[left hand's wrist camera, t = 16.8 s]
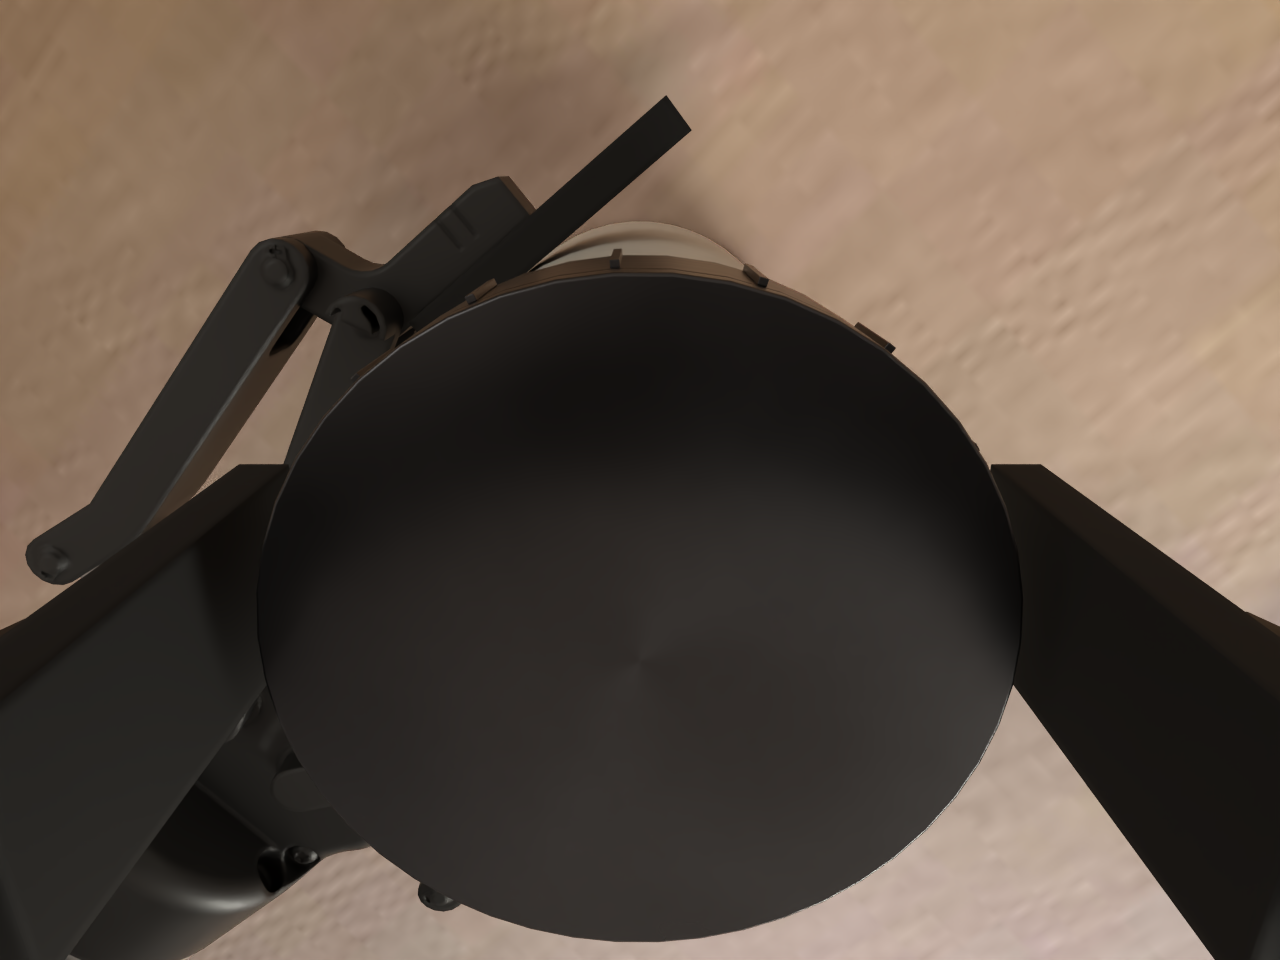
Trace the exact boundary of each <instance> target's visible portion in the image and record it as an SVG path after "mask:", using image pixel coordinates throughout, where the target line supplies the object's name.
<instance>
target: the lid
mask: <svg viewBox="0 0 1280 960" xmlns="http://www.w3.org/2000/svg"><path fill="white" fill-rule="evenodd" d="M465 299H466V301H464V302H463V303H461V304H459V305H458V306H456V307H454V308H453V309H451V310H449V311H448V312H446V313H444V314H443V315H441V316H439V317H438V318H437V319H435V320H434V321H432V322H431V323H430V324H428V325H427V326H425V327H424V328H422V329H421V330H420V331H418V332H417V333H415V334H414V335H413V336H411V337H410V338H408V339H407V340H405V341H404V342H403V343H401V344H400V345H399V346H397V347H396V348H395V349H394V350H392V349H390V350H388V351H387V352H385V353H384V354H383V355H381V356H380V357H378V358H377V359H375V360H374V361H373V362H371V363H370V364H368V365H367V366H365V367H364V368H363V369H361V370H360V371H358V372H357V373H356V374H355V375H354V376H353V377H352V378H351V380H352V381H353V382H354V383H353V385H352V386H351V387H350V388H349V389H348V390H347V391H346V392H345V393H344V394H343V395H342V397H341V398H340V399H339V400H338V401H337V402H336V403H335V404H334V405H333V406H332V407H331V409H330V410H329V411H328V412H327V413H326V414H325V415H324V416H323V418H322V419H321V421H320V422H319V424H318V425H317V427H316V428H315V430H314V431H313V433H312V434H311V436H310V437H309V439H308V440H307V442H306V443H305V445H304V446H303V447H302V449H301V450H300V452H299V453H298V455H297V456H296V458H295V460H294V462H293V464H292V467H291V469H290V471H289V473H288V475H287V477H286V479H285V481H284V484H283V486H282V488H281V490H280V492H279V494H278V496H277V499H276V501H275V504H274V507H273V511H272V514H271V518H270V521H269V524H268V528H267V531H266V535H265V538H264V542H263V545H262V551H261V559H260V567H259V575H258V582H257V590H256V599H257V637H258V643H259V649H260V654H261V660H262V666H263V671H264V677H265V681H266V684H267V687H268V690H269V693H270V696H271V699H272V702H273V706H274V709H275V712H276V715H277V718H278V721H279V723H280V725H281V727H282V729H283V731H284V733H285V735H286V737H287V739H288V741H289V743H290V745H291V747H292V749H293V751H294V753H295V755H296V757H297V759H298V760H299V762H300V763H301V765H302V766H303V768H304V769H305V771H306V772H307V774H308V775H309V777H310V778H311V780H312V781H313V783H314V784H315V786H316V787H317V789H318V790H319V792H320V793H321V795H322V796H323V797H324V798H325V799H326V800H327V802H328V803H329V804H330V805H331V806H332V807H333V808H334V810H335V811H336V812H337V813H338V814H339V815H340V816H341V818H342V819H343V820H344V821H345V822H346V823H347V825H348V826H349V827H351V828H352V829H353V830H354V831H355V832H356V833H357V834H358V835H359V836H360V837H362V838H363V839H364V840H365V841H366V842H367V843H368V844H369V845H370V846H372V847H373V848H374V849H375V850H376V851H377V852H378V853H379V854H381V855H382V856H383V857H385V858H386V859H388V860H389V861H390V862H392V863H393V864H395V865H396V866H397V867H399V868H400V869H402V870H403V871H404V872H406V873H407V874H409V875H410V876H411V877H413V878H414V879H416V880H418V881H419V882H421V883H423V884H425V885H427V886H428V887H430V888H432V889H434V890H436V891H437V892H439V893H441V894H443V895H444V896H446V897H448V898H450V899H452V900H454V901H456V902H459V903H461V904H463V905H466V906H468V907H470V908H473V909H475V910H477V911H480V912H482V913H484V914H487V915H489V916H492V917H495V918H498V919H501V920H504V921H508V922H511V923H514V924H517V925H521V926H524V927H527V928H530V929H534V930H539V931H544V932H549V933H554V934H559V935H564V936H569V937H574V938H584V939H593V940H603V941H612V942H665V941H676V940H687V939H698V938H705V937H710V936H715V935H720V934H726V933H731V932H736V931H741V930H745V929H749V928H752V927H755V926H759V925H762V924H765V923H769V922H772V921H775V920H779V919H782V918H785V917H787V916H790V915H792V914H795V913H797V912H800V911H802V910H804V909H807V908H809V907H812V906H814V905H816V904H819V903H821V902H824V901H825V900H827V899H829V898H831V897H833V896H835V895H837V894H838V893H840V892H842V891H844V890H846V889H848V888H849V887H851V886H853V885H855V884H857V883H859V882H861V881H862V880H863V879H865V878H866V877H868V876H869V875H871V874H872V873H873V872H875V871H876V870H878V869H879V868H881V867H882V866H884V865H885V864H886V863H888V862H889V861H891V860H892V859H894V858H895V857H896V856H897V855H899V854H900V853H901V852H902V851H903V850H904V849H905V848H907V847H908V846H909V845H910V844H911V843H912V842H913V841H915V840H916V839H917V838H918V837H919V836H920V835H921V834H923V833H924V832H925V831H926V830H927V829H928V828H929V827H930V826H931V825H932V823H933V822H934V821H935V820H936V819H937V818H938V817H939V816H940V815H941V813H942V812H943V811H944V810H945V809H946V808H947V807H948V806H949V805H950V803H951V802H952V801H953V800H954V799H955V798H956V796H957V795H958V793H959V792H960V791H961V789H962V788H963V786H964V785H965V783H966V782H967V780H968V779H969V778H970V776H971V775H972V773H973V772H974V770H975V769H976V767H977V766H978V765H979V763H980V761H981V759H982V757H983V755H984V753H985V751H986V750H987V748H988V746H989V744H990V742H991V740H992V738H993V736H994V734H995V732H996V730H997V728H998V726H999V724H1000V721H1001V718H1002V715H1003V712H1004V709H1005V706H1006V704H1007V701H1008V698H1009V695H1010V692H1011V689H1012V686H1013V683H1014V677H1015V672H1016V667H1017V662H1018V657H1019V652H1020V646H1021V639H1022V615H1023V590H1022V581H1021V572H1020V563H1019V554H1018V549H1017V545H1016V542H1015V538H1014V534H1013V530H1012V527H1011V523H1010V519H1009V516H1008V512H1007V508H1006V505H1005V503H1004V501H1003V499H1002V496H1001V494H1000V492H999V490H998V487H997V485H996V483H995V481H994V478H993V476H992V474H991V472H990V470H989V467H988V465H987V463H986V461H985V460H984V458H983V457H982V455H981V454H980V452H979V451H980V450H979V448H978V446H977V444H976V443H975V442H973V441H972V440H971V438H970V436H969V435H968V433H967V432H966V430H965V429H964V427H963V426H962V424H961V423H960V421H959V420H958V419H957V418H956V417H955V415H954V414H953V413H952V412H951V411H950V410H949V409H948V407H947V406H946V405H945V404H944V403H943V402H942V401H941V400H940V398H939V397H938V396H937V395H936V394H935V393H934V392H933V390H932V389H931V388H930V387H929V386H928V385H927V384H926V383H925V382H924V381H923V380H922V379H921V378H919V377H918V376H917V375H916V374H915V373H914V372H912V371H911V370H910V369H909V368H908V367H906V366H905V365H904V364H903V363H902V362H900V361H899V360H898V359H897V358H896V357H895V356H893V355H892V354H891V353H892V352H893V351H894V350H895V349H896V348H895V347H894V346H893V345H892V344H890V343H889V342H888V341H886V340H885V339H883V338H882V337H880V336H879V335H877V334H876V333H874V332H873V331H871V330H870V329H868V328H867V327H865V326H864V325H862V324H861V323H859V322H858V323H857V324H856V325H855V326H853V325H851V324H850V323H848V322H847V321H846V320H844V319H843V318H841V317H839V316H838V315H836V314H835V313H833V312H831V311H830V310H828V309H827V308H825V307H823V306H822V305H820V304H818V303H817V302H815V301H814V300H812V299H810V298H809V297H807V296H806V295H804V294H802V293H799V292H797V291H795V290H793V289H790V288H788V287H786V286H784V285H781V284H779V283H777V282H775V281H772V280H770V279H768V278H767V277H766V276H764V275H763V274H762V273H761V272H759V271H758V270H757V269H756V268H754V267H753V266H751V265H748V264H745V265H744V268H743V270H740V269H736V268H733V267H729V266H726V265H723V264H719V263H716V262H709V261H702V260H695V259H688V258H681V257H674V256H668V255H623V254H622V249H613V252H612V255H611V256H607V257H599V258H591V259H583V260H575V261H569V262H565V263H561V264H558V265H554V266H550V267H547V268H543V269H539V270H535V271H532V272H528V273H524V274H522V275H519V276H517V277H515V278H512V279H510V280H508V281H505V282H503V283H500V284H498V285H497V283H496V281H495V279H491V280H489V281H487V282H485V283H484V284H483V285H481V286H480V287H478V288H477V289H475V290H474V291H472V292H471V293H470V294H468V295H467V296H465Z"/></svg>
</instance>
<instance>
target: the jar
mask: <svg viewBox="0 0 1280 960" xmlns="http://www.w3.org/2000/svg"><path fill="white" fill-rule="evenodd" d="M613 249H622V254H623V255H668V256H674V257H681V258H688V259H695V260H702V261H709V262H716V263H719V264H723V265H726V266H729V267H733V268H736V269H740V270H743V268H744V264H742V263H741V262H740V261H739V260H738V259H737V258H735V257H734V256H733V255H732V254H731V253H729V252H728V251H727V250H726V249H724V248H723V247H721V246H720V245H718V244H717V243H715V242H713V241H712V240H710V239H709V238H707V237H704V236H702V235H700V234H698V233H695V232H693V231H691V230H688V229H685V228H681V227H678V226H674V225H671V224H665V223H658V222H651V221H630V222H622V223H615V224H609V225H605V226H602V227H598V228H595V229H591V230H589V231H587V232H584V233H582V234H580V235H577V236H575V237H573V238H571V239H570V240H568V241H566V242H565V243H563V244H561V245H560V246H558V247H557V248H555V249H554V250H553V251H552V252H550V253H549V254H548V255H547V256H545V257H544V258H543V259H542V260H541V261H540V262H539V263H537V264H536V265H535V266H534V267H533V268H532V269H530V270H529V271H528V272H532V271H535V270H539V269H543V268H547V267H550V266H554V265H558V264H561V263H565V262H569V261H575V260H583V259H591V258H599V257H607V256H611V255H612V252H613ZM528 272H527V273H528Z"/></svg>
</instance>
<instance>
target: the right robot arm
mask: <svg viewBox="0 0 1280 960" xmlns="http://www.w3.org/2000/svg"><path fill="white" fill-rule="evenodd" d="M690 131H691V129H690V127H689V126H688V124H687V123H686V122H685V120H684V119H683V118H682V116H681V115H680V113H679V112H678V111H677V109H676V108H675V107H674V105H673V104H672V102H671V101H670V100H669V98H668V97H667V96H665V97H664V98H663V99H661V100H660V101H659V102H658V103H657V104H656V105H655V106H653V107H652V108H651V109H650V110H649V111H648V112H647V113H646V114H644V115H643V116H642V117H641V118H640V119H639V120H638V121H636V122H635V123H634V124H633V125H632V126H631V127H630V128H629V129H627V130H626V131H625V132H624V133H623V134H622V135H621V136H619V137H618V138H617V139H616V140H615V141H614V142H613V143H612V144H610V145H609V146H608V147H607V148H606V149H605V150H604V151H602V152H601V153H600V154H599V155H598V156H597V157H596V158H595V159H593V160H592V161H591V162H590V163H589V164H588V165H587V166H585V167H584V168H583V169H582V170H581V171H580V172H579V173H578V174H576V175H575V176H574V177H573V178H572V179H571V180H570V181H569V182H567V183H566V184H565V185H564V186H563V187H562V188H561V189H559V190H558V191H557V192H556V193H555V194H554V195H553V196H552V197H550V198H549V199H548V200H547V201H546V202H545V203H544V204H542V205H541V206H540V207H539V208H538V209H537V210H536V209H535V208H534V207H533V205H532V204H531V203H530V202H529V200H528V199H527V198H526V197H525V196H524V194H523V193H522V192H521V191H520V189H519V188H518V187H517V186H516V184H515V183H514V182H513V181H512V180H511V178H510V177H509V176H504V177H495V178H492V179H490V180H487V181H484V182H481V183H478V184H475V185H472V186H471V187H470V188H469V189H468V190H467V191H465V192H464V193H463V194H462V195H461V196H460V197H459V198H458V199H457V200H456V201H455V202H453V203H452V205H451V206H449V207H448V208H447V209H446V210H445V211H444V212H442V213H441V214H440V215H439V216H438V217H437V218H436V219H435V220H434V221H433V222H432V223H430V224H429V225H428V226H427V227H426V228H425V229H424V230H423V231H422V232H421V233H419V234H418V235H417V236H416V237H415V238H414V239H413V240H412V241H411V242H410V243H408V244H407V245H406V246H405V247H404V248H403V249H402V250H401V251H400V252H399V253H398V254H396V255H395V256H394V257H393V258H392V259H391V260H390V261H389V262H388V263H386V264H376V263H372V262H370V261H367V260H365V259H363V258H362V257H360V256H358V255H356V254H355V253H353V252H351V251H349V250H348V249H346V248H345V246H344V245H343V244H342V243H341V241H340V240H339V239H338V238H337V237H335V236H333V235H332V234H330V233H328V232H323V231H312V232H306V233H300V234H294V235H288V236H283V237H277V238H271V239H268V240H264V241H261V242H259V243H258V244H257V245H256V246H255V247H254V248H253V249H252V250H251V251H250V252H249V254H248V256H247V257H246V259H245V260H244V262H243V263H242V265H241V267H240V268H239V270H238V271H237V273H236V274H235V276H234V278H233V279H232V281H231V282H230V284H229V285H228V287H227V289H226V290H225V292H224V293H223V295H222V296H221V298H220V300H219V301H218V303H217V304H216V306H215V308H214V309H213V311H212V312H211V314H210V315H209V317H208V319H207V320H206V322H205V323H204V325H203V326H202V328H201V330H200V331H199V333H198V334H197V336H196V337H195V339H194V341H193V342H192V344H191V345H190V347H189V348H188V350H187V352H186V353H185V355H184V356H183V358H182V359H181V361H180V363H179V364H178V366H177V367H176V369H175V371H174V372H173V374H172V375H171V377H170V378H169V380H168V382H167V383H166V385H165V386H164V388H163V389H162V391H161V393H160V394H159V396H158V397H157V399H156V400H155V402H154V404H153V405H152V407H151V408H150V410H149V411H148V413H147V415H146V416H145V418H144V419H143V421H142V422H141V424H140V426H139V427H138V429H137V430H136V432H135V434H134V435H133V437H132V438H131V440H130V441H129V443H128V445H127V446H126V448H125V449H124V451H123V452H122V454H121V456H120V457H119V459H118V460H117V462H116V463H115V465H114V467H113V468H112V470H111V471H110V473H109V474H108V476H107V478H106V479H105V481H104V482H103V484H102V485H101V487H100V489H99V490H98V492H97V493H96V495H95V497H94V498H93V500H92V501H91V503H90V504H89V505H87V506H86V507H84V508H82V509H81V510H79V511H78V512H76V513H75V514H73V515H71V516H70V517H68V518H67V519H65V520H64V521H62V522H60V523H59V524H57V525H56V526H54V527H53V528H51V529H49V530H48V531H46V532H45V533H43V534H42V535H40V536H38V537H37V538H35V539H34V540H33V541H32V542H31V543H30V544H29V545H28V546H27V550H26V554H25V556H26V560H27V564H28V566H29V567H30V569H31V570H32V572H33V573H34V574H35V575H36V576H38V577H39V578H40V579H41V580H43V581H46V582H48V583H51V584H57V585H64V584H67V583H70V582H73V581H74V580H76V579H78V578H79V577H81V578H83V577H84V576H85V575H87V574H88V573H89V572H91V571H92V570H94V569H95V568H96V567H98V566H99V565H101V564H102V563H103V562H105V561H106V560H107V559H109V558H110V557H112V556H113V555H114V554H116V553H117V552H119V551H120V550H121V549H123V548H124V547H125V546H127V545H128V544H130V543H131V542H132V541H134V540H135V539H137V538H138V537H139V536H141V535H142V534H143V533H145V532H146V531H148V530H149V529H150V528H152V527H153V526H155V525H156V524H157V523H159V522H160V521H161V520H163V519H164V518H166V517H167V516H168V515H170V514H171V513H173V512H174V511H175V510H177V509H178V508H179V507H181V506H182V505H184V504H185V503H186V502H188V501H189V500H190V499H191V498H192V497H193V496H194V495H195V494H196V493H197V491H198V490H199V489H200V488H201V486H202V485H203V484H204V483H205V481H206V480H207V478H208V477H209V475H210V474H211V472H212V471H213V470H214V468H215V467H216V465H217V464H218V462H219V461H220V459H221V458H222V456H223V455H224V453H225V452H226V450H227V449H228V447H229V446H230V445H231V443H232V442H233V440H234V439H235V437H236V436H237V434H238V433H239V431H240V430H241V428H242V427H243V425H244V424H245V422H246V421H247V420H248V418H249V417H250V415H251V414H252V412H253V411H254V409H255V408H256V406H257V405H258V403H259V402H260V400H261V399H262V398H263V396H264V395H265V393H266V392H267V390H268V389H269V387H270V386H271V384H272V383H273V381H274V380H275V378H276V377H277V375H278V374H279V373H280V371H281V370H282V368H283V367H284V365H285V364H286V362H287V361H288V359H289V358H290V356H291V355H292V353H293V352H294V350H295V349H296V348H297V346H298V345H299V343H300V342H301V340H302V339H303V337H304V336H305V334H306V333H307V331H308V330H309V328H310V327H311V325H312V324H313V323H314V321H315V320H316V318H317V317H319V318H321V319H323V320H324V321H326V322H328V323H330V324H332V326H331V329H330V332H329V335H328V338H327V341H326V344H325V346H324V349H323V352H322V355H321V358H320V361H319V364H318V367H317V369H316V372H315V375H314V378H313V381H312V384H311V387H310V389H309V392H308V395H307V398H306V401H305V404H304V407H303V410H302V412H301V415H300V418H299V421H298V424H297V427H296V430H295V432H294V435H293V438H292V441H291V444H290V447H289V450H288V453H287V455H286V458H285V461H284V464H289V470H290V469H291V467H292V464H293V462H294V460H295V458H296V456H297V455H298V453H299V452H300V450H301V449H302V447H303V446H304V445H305V443H306V442H307V440H308V439H309V437H310V436H311V434H312V433H313V431H314V430H315V428H316V427H317V425H318V424H319V422H320V421H321V419H322V418H323V416H324V415H325V414H326V413H327V412H328V411H329V410H330V409H331V407H332V406H333V405H334V404H335V403H336V402H337V401H338V400H339V399H340V398H341V397H342V395H343V394H344V393H345V392H346V391H347V390H348V389H349V388H350V387H351V386H352V385H353V383H354V382H353V381H352V380H351V378H352V377H353V376H354V375H355V374H356V373H357V372H358V371H360V370H361V369H363V368H364V367H365V366H367V365H368V364H370V363H371V362H373V361H374V360H375V359H377V358H378V357H380V356H381V355H383V354H384V353H385V352H387V351H388V350H390V349H392V350H394V349H395V348H396V347H397V346H399V345H400V344H401V343H403V342H404V341H405V340H407V339H408V338H410V337H411V336H413V335H414V334H415V333H417V332H418V331H420V330H421V329H422V328H424V327H425V326H427V325H428V324H430V323H431V322H432V321H434V320H435V319H437V318H438V317H439V316H441V315H443V314H444V313H446V312H448V311H449V310H451V309H453V308H454V307H456V306H458V305H459V304H461V303H463V302H464V301H466V299H465V296H467V295H468V294H470V293H471V292H472V291H474V290H475V289H477V288H478V287H480V286H481V285H483V284H484V283H485V282H487V281H489V280H491V279H495V281H496V283H497V285H498V284H500V283H503V282H505V281H508V280H510V279H512V278H515V277H517V276H519V275H522V274H524V273H527V272H528V271H529V270H530V269H532V268H533V267H534V266H535V265H536V264H537V263H539V262H540V261H541V260H542V259H543V258H544V257H545V256H547V255H548V254H549V253H550V252H551V251H552V250H554V249H555V248H556V247H557V246H558V245H559V244H561V243H562V242H563V241H564V240H565V239H566V238H567V237H569V236H570V235H571V234H572V233H573V232H574V231H576V230H577V229H578V228H579V227H580V226H581V225H583V224H584V223H585V222H586V221H587V220H588V219H589V218H591V217H592V216H593V215H594V214H595V213H596V212H598V211H599V210H600V209H601V208H602V207H603V206H605V205H606V204H607V203H608V202H609V201H610V200H611V199H613V198H614V197H615V196H616V195H617V194H618V193H620V192H621V191H622V190H623V189H624V188H625V187H627V186H628V185H629V184H630V183H631V182H632V181H633V180H635V179H636V178H637V177H638V176H639V175H640V174H642V173H643V172H644V171H645V170H646V169H647V168H649V167H650V166H651V165H652V164H653V163H654V162H655V161H657V160H658V159H659V158H660V157H661V156H662V155H664V154H665V153H666V152H667V151H668V150H669V149H671V148H672V147H673V146H674V145H675V144H676V143H677V142H679V141H680V140H681V139H682V138H683V137H684V136H686V135H687V134H688V133H689V132H690ZM369 846H370V845H369V844H368V843H367V842H366V841H365V840H364V839H363V838H362V837H360V836H359V835H358V834H357V833H356V832H355V831H354V830H353V829H352V828H351V827H349V826H348V825H347V823H346V822H345V821H344V820H343V819H342V818H341V816H340V815H339V814H338V813H337V812H336V811H335V810H334V808H333V807H332V806H331V805H330V804H329V803H328V802H327V800H326V799H325V798H324V797H323V796H322V795H321V793H320V792H319V790H318V789H317V787H316V786H315V784H314V783H313V781H312V780H311V778H310V777H309V775H308V774H307V772H306V771H305V769H304V768H303V766H302V765H301V763H300V762H299V760H298V759H297V757H296V755H295V753H294V751H293V749H292V747H291V745H290V743H289V741H288V739H287V737H286V735H285V733H284V731H283V729H282V727H281V725H280V723H279V721H278V718H277V715H276V712H275V709H274V706H273V702H272V699H271V696H270V693H269V690H268V687H267V685H266V686H265V688H264V689H263V690H262V692H261V693H260V694H259V696H258V697H257V699H256V700H255V701H254V703H253V704H252V705H251V707H250V708H249V709H248V711H247V712H246V714H245V715H244V716H243V718H242V719H241V720H240V722H239V723H238V724H237V726H236V727H235V729H234V730H233V731H232V733H231V734H230V735H229V737H228V738H227V739H226V741H225V742H224V744H223V745H222V746H221V748H220V749H219V750H218V752H217V753H216V755H215V756H214V757H213V759H212V760H211V761H210V763H209V764H208V765H207V767H206V768H205V770H204V771H203V772H202V774H201V775H200V776H199V778H198V779H197V780H196V782H195V783H194V785H193V786H192V787H191V789H190V790H189V791H188V793H187V794H186V795H185V797H184V798H183V800H182V801H181V802H180V804H179V805H178V806H177V808H176V809H175V810H174V812H173V813H172V815H171V816H170V817H169V819H168V820H167V821H166V823H165V824H164V826H163V827H162V828H161V830H160V831H159V832H158V834H157V835H156V836H155V838H154V839H153V841H152V842H151V843H150V845H149V846H148V847H147V849H146V850H145V851H144V853H143V854H142V856H141V857H140V858H139V860H138V861H137V862H136V864H135V865H134V866H133V868H132V869H131V871H130V872H129V873H128V875H127V876H126V877H125V879H124V880H123V881H122V883H121V884H120V886H119V887H118V888H117V890H116V891H115V892H114V894H113V895H112V897H111V898H110V899H109V901H108V902H107V903H106V905H105V906H104V907H103V909H102V910H101V912H100V913H99V914H98V916H97V917H96V918H95V920H94V921H93V922H92V924H91V925H90V927H89V928H88V929H87V931H86V932H85V933H84V935H83V936H82V937H81V939H80V940H79V942H78V943H77V944H76V946H75V947H74V948H73V950H72V951H71V953H70V954H69V955H68V957H67V958H66V959H65V960H188V959H189V958H190V957H191V956H192V955H193V954H195V953H196V952H198V951H200V950H202V949H204V948H205V947H207V946H208V945H209V944H211V943H212V942H214V941H215V940H216V939H218V938H219V937H221V936H222V935H224V934H225V933H226V932H228V931H229V930H231V929H232V928H234V927H235V926H236V925H238V924H239V923H241V922H242V921H244V920H245V919H246V918H248V917H249V916H251V915H252V914H253V913H255V912H256V911H258V910H259V909H261V908H262V907H263V906H265V905H266V904H268V903H269V902H271V901H272V900H273V899H275V898H276V897H278V896H279V895H281V894H282V893H283V892H285V891H286V890H287V889H288V888H290V887H291V886H292V885H293V884H295V883H296V882H297V881H298V880H299V879H301V878H302V877H303V876H304V875H305V874H306V873H307V872H309V871H310V870H311V869H312V868H313V867H314V866H315V865H316V864H318V863H319V862H320V861H321V860H323V859H324V858H326V857H328V856H330V855H333V854H336V853H340V852H344V851H351V850H359V849H364V848H367V847H369ZM418 896H419V898H420V901H421V902H422V903H423V904H424V905H425V906H426V907H428V908H431V909H433V910H436V911H448V910H452V909H454V908H456V907H458V906H459V905H460V904H461V903H459V902H456V901H454V900H452V899H450V898H448V897H446V896H444V895H443V894H441V893H439V892H437V891H436V890H434V889H432V888H430V887H428V886H427V885H425V884H423V883H421V882H420V885H419V888H418Z"/></svg>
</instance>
